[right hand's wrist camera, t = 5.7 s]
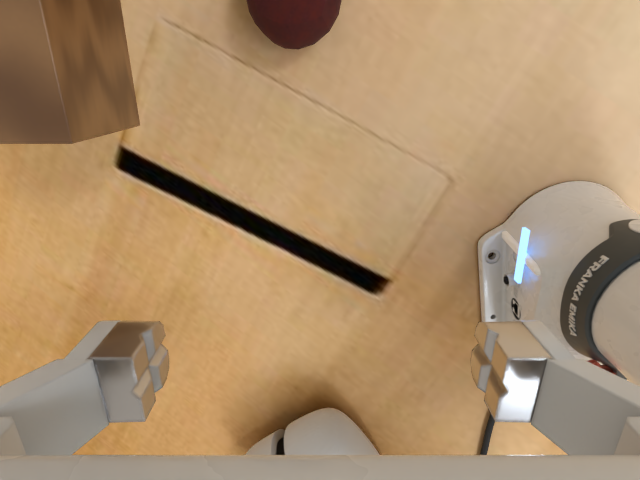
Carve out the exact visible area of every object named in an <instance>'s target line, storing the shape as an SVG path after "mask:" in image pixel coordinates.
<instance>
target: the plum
mask: <svg viewBox="0 0 640 480" xmlns="http://www.w3.org/2000/svg"><path fill="white" fill-rule="evenodd" d="M247 4H248V8H249V12H250V14H251V16H252V18H253V20H254V22H255V24H256V25H257V26H258V27H259V28H260V30H261V31H262V32H263V33H264V34H265V35H266V36H267V37H268V38H269V39H270V40H271V41H273V42H274V43H275V44H277V45H279V46H281V47H283V48H288V49H301V48H304V47H307V46H310V45H313V44H315V43H316V42H317V41H318V40H320V39H321V38H322V37H323V36H324V35H325V34H327V33H328V32H329V31H330V29H331V27H332V25H333V24H334V22H335V20H336V18H337V16H338V15H339V10H340V4H341V0H247Z"/></svg>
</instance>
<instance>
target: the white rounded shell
mask: <svg viewBox="0 0 640 480" xmlns="http://www.w3.org/2000/svg"><path fill="white" fill-rule="evenodd" d="M245 455H379V453H378V451H377V450H376V449H375V447H374V446H373V444H372V443H371V442H370V440H369V439H368V438H367V437H366V435H365V434H364V433H363V432H362V431H361V429H360V428H359V427H358V426H357V425H356V424H355V423H354V422H353V421H352V420H351V419H350V418H349V417H348V416H347V415H346V414H344V413H343V412H341V411H340V410H337V409H334V408H323V409H319V410H316V411H313V412H311V413H309V414H306V415H304V416H302V417H300V418H299V419H297V420H295V421H293V422H291V423H290V424H289V425H288V426H287V428H286V430H284V429H279V430H277V431H275V432H273V433H272V434H270V435H268V436H267V437H265V438H263V439H262V440H260V441H259V442H257V443H256V444H255V445H253V446H252V447H251V448H250V449H249V450H248V451H247V453H246V454H245Z"/></svg>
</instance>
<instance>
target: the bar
mask: <svg viewBox="0 0 640 480" xmlns="http://www.w3.org/2000/svg"><path fill="white" fill-rule="evenodd" d="M136 126H140V122H139V116H138V109H137V103H136V97H135V91H134V84H133V78H132V72H131V66H130V59H129V53H128V47H127V41H126V35H125V28H124V22H123V16H122V10H121V3H120V0H0V144H73V143H76V142H80V141H84V140H88V139H91V138H95V137H99V136H103V135H106V134H110V133H114V132H118V131H121V130H125V129H129V128H133V127H136Z"/></svg>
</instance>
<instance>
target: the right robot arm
mask: <svg viewBox="0 0 640 480" xmlns="http://www.w3.org/2000/svg"><path fill="white" fill-rule="evenodd" d="M492 252H493V255H492V256H491V257H488V255H489V254H490V253H492ZM478 264H479V282H480V301H481V319H482V322H478V324H477V326H476V330H475V338H476V339H477V341H478V343H479V344H478V345H477V346H476V347H475V348H474V349H473V350H472V354H471V372H472V376H473V379H474V381H475V383H476V386H477V387H478V388H479V389H481V390H482V391H483V392H485V398H484V401H485V403H486V405H487V407H488V409H489V411H490V413H491V414H490V417H489V420H488V424H487V427H486V431H485V435H484V440H483V445H482V449H481V454H480V455H72V454H73V453H74V452H76V451H77V450H78V449H79V448H81V447H82V446H83V445H84V444H86V443H87V442H88V441H89V440H90V439H92V438H93V437H94V436H95V435H97V434H98V433H99V432H100V431H101V430H103V429H104V428H105V427H106V426H108V425H109V423H110V422H145V421H146V419H147V417H148V415H149V413H150V411H151V409H152V407H153V405H154V403H155V401H156V398H155V392H157V391H158V390H159V389H161V388H162V387H163V386H164V383H165V381H166V379H167V375H168V371H169V354H168V350H167V349H166V348H165V347H164V346H163V345H162V344H161V343H162V341H163V339H164V338H165V331H164V326H163V324H162V323H161V322H160V321H120V320H115V321H100V322H98V323H97V324H96V325H95V326H94V327H93V328H92V329H91V330H90V331H89V332H88V333H87V334H86V336H85V337H84V338H83V339H82V340H81V341H80V342H79V343H78V344H77V345H76V346H75V347H74V349H73V350H72V351H71V352H70V353H69V354H68V355H67V356H66V357H65V358H64V359H57V360H55V361H53V362H50V363H48V364H46V365H44V366H42V367H40V368H38V369H36V370H34V371H32V372H29V373H27V374H25V375H23V376H21V377H19V378H17V379H15V380H13V381H11V382H8V383H6V384H4V385H2V386H0V480H640V215H639V214H638V213H637V212H635V211H634V210H632V209H631V208H630V207H629V206H628V205H626V204H625V203H624V202H623V200H622V199H621V198H620V197H619V196H618V195H617V194H616V193H615V192H614V191H612V190H611V189H609V188H607V187H605V186H603V185H601V184H598V183H594V182H588V181H570V182H564V183H560V184H556V185H553V186H551V187H548V188H546V189H544V190H542V191H540V192H538V193H536V194H535V195H533V196H532V197H530V198H529V199H527V200H526V201H525V202H524V203H523V204H522V205H520V206H519V207H518V208H517V209H516V211H515V212H514V213H513V214H512V215H511V216H510V217H509V218H508V219H507V220H506V221H505V222H504V223H503V224H502V225H500V226H498V227H496V228H495V229H493V230H491V231H489V232H488V233H486V234H485V235H483V236H482V237H481V238H480V240H479V242H478ZM627 380H629V381H630V382H629V381H627ZM495 422H530V423H531V425H533V426H534V427H535V428H536V429H537V430H539V431H540V432H541V433H542V434H544V435H545V436H546V437H547V438H549V439H550V440H551V441H552V442H553V443H555V444H556V445H557V446H558V447H560V448H561V449H562V450H563V451H564V452H566V453H567V454H568V455H487V451H488V447H489V442H490V437H491V433H492V429H493V426H494V423H495Z"/></svg>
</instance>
